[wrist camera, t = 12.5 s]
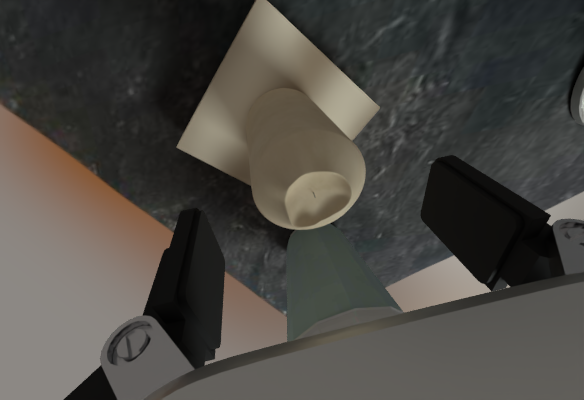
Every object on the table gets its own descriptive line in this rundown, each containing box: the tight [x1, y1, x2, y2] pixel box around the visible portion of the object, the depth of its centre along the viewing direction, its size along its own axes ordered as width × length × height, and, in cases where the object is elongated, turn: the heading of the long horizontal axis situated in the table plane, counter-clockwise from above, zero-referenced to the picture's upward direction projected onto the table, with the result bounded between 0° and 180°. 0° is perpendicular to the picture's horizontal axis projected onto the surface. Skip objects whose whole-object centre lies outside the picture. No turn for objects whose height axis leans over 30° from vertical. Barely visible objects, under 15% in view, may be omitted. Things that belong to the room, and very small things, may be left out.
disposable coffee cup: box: [287, 223, 404, 342], centre depth 24 cm, size 11×11×15 cm
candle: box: [246, 88, 366, 230], centre depth 15 cm, size 6×6×10 cm
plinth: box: [177, 0, 380, 186], centre depth 20 cm, size 11×11×3 cm
